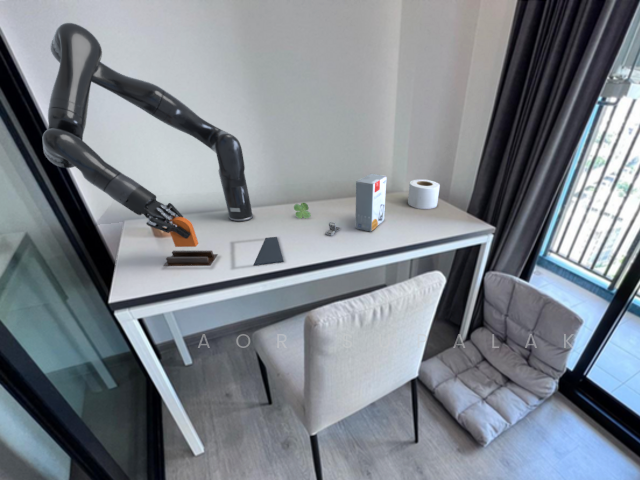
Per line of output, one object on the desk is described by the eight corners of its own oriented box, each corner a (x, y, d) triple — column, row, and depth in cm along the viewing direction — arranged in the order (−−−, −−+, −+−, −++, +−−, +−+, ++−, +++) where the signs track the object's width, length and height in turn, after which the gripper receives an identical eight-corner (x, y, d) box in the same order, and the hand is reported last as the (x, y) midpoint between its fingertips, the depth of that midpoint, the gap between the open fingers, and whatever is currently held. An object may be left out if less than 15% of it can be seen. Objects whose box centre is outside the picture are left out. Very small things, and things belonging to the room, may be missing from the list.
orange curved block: (175, 246, 102) (165, 219, 96) (178, 243, 104) (168, 216, 98) (195, 246, 103) (187, 219, 97) (198, 243, 104) (190, 216, 99)
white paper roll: (422, 211, 162) (425, 189, 156) (401, 202, 171) (403, 181, 165) (442, 205, 171) (446, 185, 165) (422, 197, 180) (424, 177, 174)
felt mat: (231, 242, 120) (231, 241, 120) (277, 238, 126) (276, 236, 125) (232, 268, 105) (232, 266, 105) (283, 261, 111) (283, 260, 111)
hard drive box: (371, 232, 136) (372, 184, 125) (355, 229, 138) (354, 181, 127) (384, 220, 149) (386, 175, 137) (369, 217, 150) (370, 172, 139)
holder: (163, 268, 102) (160, 260, 101) (174, 256, 109) (171, 248, 107) (211, 268, 104) (208, 260, 103) (218, 256, 111) (216, 248, 109)
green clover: (304, 225, 150) (304, 222, 143) (290, 213, 147) (289, 210, 141) (314, 213, 151) (315, 210, 144) (300, 201, 148) (300, 198, 142)
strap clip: (331, 236, 130) (331, 226, 128) (324, 235, 131) (324, 225, 129) (340, 228, 137) (340, 219, 135) (333, 227, 138) (333, 218, 135)
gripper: (137, 195, 99) (192, 233, 108) (111, 212, 88) (175, 252, 97) (149, 178, 97) (205, 218, 106) (124, 193, 86) (188, 236, 95)
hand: (190, 234), depth 101 cm, fingers closed on orange curved block, 2 cm apart
